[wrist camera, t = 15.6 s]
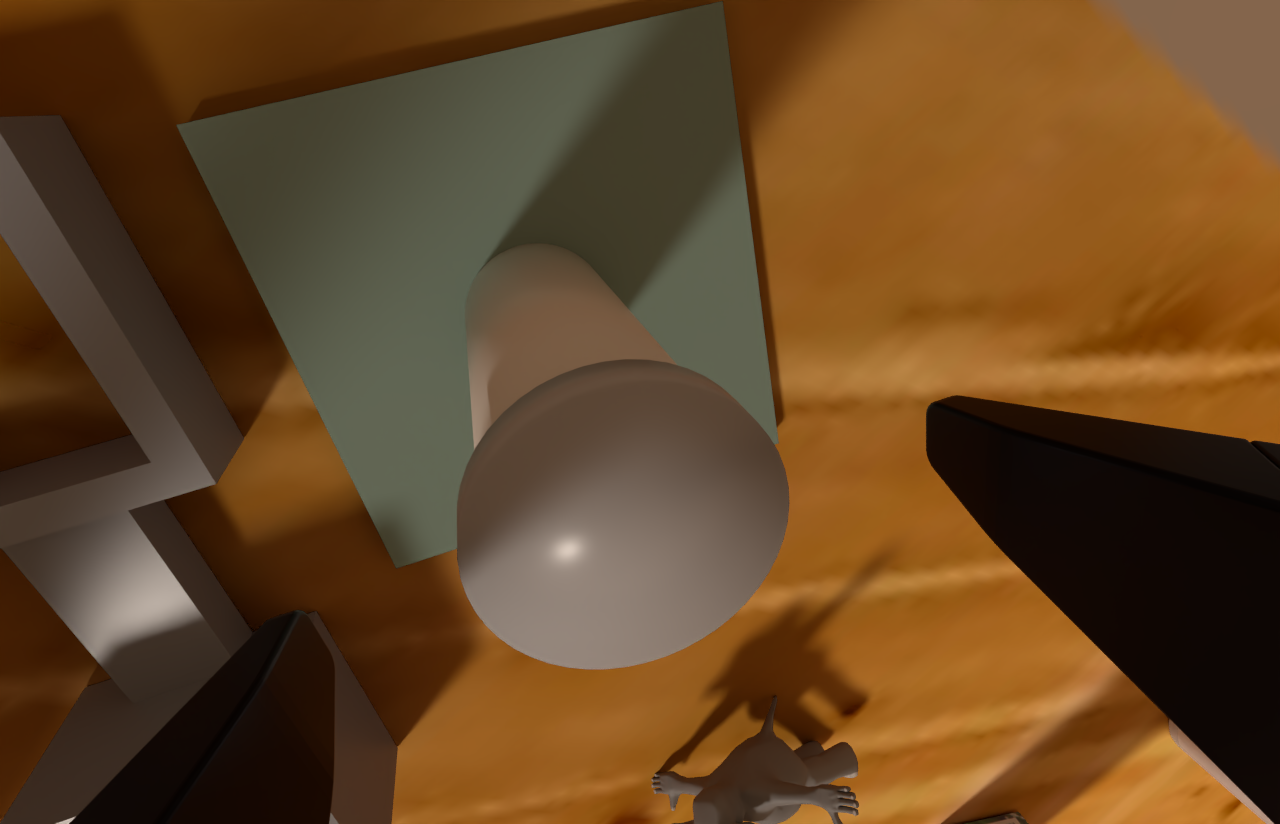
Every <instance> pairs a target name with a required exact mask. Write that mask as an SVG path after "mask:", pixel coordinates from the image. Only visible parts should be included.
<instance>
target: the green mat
mask: <svg viewBox="0 0 1280 824" xmlns="http://www.w3.org/2000/svg"><path fill="white" fill-rule="evenodd" d="M176 126H177V128H178V130H179V132H180V134H181V136H182V138H183V140H184V142H185V144H186V146H187V148H188V150H189V152H190V154H191V156H192V158H193V160H194V162H195V164H196V166H197V168H198V170H199V172H200V174H201V176H202V178H203V180H204V182H205V184H206V186H207V188H208V190H209V192H210V194H211V196H212V198H213V200H214V202H215V204H216V206H217V208H218V210H219V212H220V214H221V217H222V219H223V221H224V223H225V225H226V227H227V229H228V231H229V233H230V235H231V237H232V239H233V241H234V243H235V245H236V247H237V249H238V251H239V253H240V255H241V257H242V259H243V261H244V263H245V265H246V267H247V269H248V271H249V273H250V275H251V277H252V279H253V281H254V283H255V285H256V287H257V289H258V291H259V293H260V295H261V297H262V299H263V301H264V303H265V305H266V307H267V309H268V311H269V313H270V315H271V317H272V319H273V321H274V323H275V325H276V327H277V329H278V331H279V333H280V335H281V337H282V339H283V341H284V343H285V345H286V347H287V349H288V351H289V354H290V356H291V358H292V360H293V362H294V364H295V366H296V368H297V370H298V372H299V374H300V376H301V378H302V380H303V382H304V384H305V386H306V388H307V390H308V392H309V394H310V396H311V398H312V400H313V402H314V404H315V406H316V408H317V410H318V412H319V414H320V416H321V418H322V420H323V422H324V424H325V426H326V428H327V430H328V432H329V434H330V436H331V438H332V440H333V442H334V444H335V446H336V448H337V450H338V452H339V454H340V456H341V458H342V460H343V462H344V464H345V466H346V468H347V470H348V472H349V474H350V476H351V478H352V480H353V482H354V484H355V486H356V488H357V491H358V493H359V495H360V497H361V499H362V501H363V503H364V505H365V507H366V509H367V511H368V513H369V515H370V517H371V519H372V521H373V523H374V525H375V527H376V529H377V531H378V533H379V535H380V537H381V539H382V541H383V543H384V545H385V547H386V549H387V551H388V553H389V555H390V557H391V559H392V561H393V563H394V565H395V567H396V568H399V567H403V566H406V565H409V564H412V563H415V562H418V561H421V560H424V559H427V558H430V557H433V556H436V555H439V554H442V553H445V552H448V551H451V550H454V549H457V501H458V495H459V489H460V484H461V481H462V478H463V475H464V472H465V469H466V466H467V464H468V462H469V460H470V458H471V456H472V454H473V452H474V440H473V426H472V411H471V397H470V383H469V369H468V354H467V340H466V326H465V305H466V299H467V295H468V292H469V289H470V287H471V285H472V282H473V280H474V279H475V277H476V276H477V274H478V273H479V271H480V270H481V269H482V268H483V267H484V265H486V264H487V263H488V262H489V261H490V260H491V259H492V258H494V257H495V256H497V255H498V254H500V253H502V252H504V251H506V250H508V249H510V248H513V247H516V246H519V245H524V244H532V243H543V244H551V245H556V246H559V247H562V248H565V249H567V250H569V251H571V252H573V253H575V254H577V255H578V256H580V257H581V258H583V259H584V260H585V261H586V262H587V263H588V264H589V265H590V266H591V267H592V268H593V269H594V270H595V272H596V273H597V274H598V275H599V276H600V277H601V278H602V280H603V281H604V282H605V283H606V284H607V285H608V286H609V288H610V289H611V290H612V291H613V292H614V293H615V294H616V296H617V297H618V298H619V299H620V300H621V301H622V302H623V304H624V305H625V306H626V307H627V308H628V309H629V310H630V312H631V313H632V314H633V315H634V316H635V317H636V318H637V320H638V321H639V322H640V323H641V324H642V325H643V326H644V328H645V329H646V330H647V331H648V332H649V333H650V334H651V336H652V337H653V338H654V339H655V340H656V341H657V342H658V344H659V345H660V346H661V347H662V348H663V349H664V350H665V352H666V353H667V354H668V355H669V356H670V357H671V358H672V360H673V361H674V362H675V363H676V364H677V365H678V366H681V367H685V368H688V369H690V370H692V371H695V372H697V373H699V374H701V375H703V376H705V377H707V378H709V379H710V380H712V381H713V382H715V383H716V384H718V385H719V386H721V387H722V388H723V389H724V390H726V391H727V392H728V393H729V394H730V395H731V396H732V397H733V398H735V399H736V400H737V401H738V402H739V404H740V405H741V406H742V407H743V408H744V409H745V410H746V411H747V412H748V413H749V414H750V415H751V416H752V417H753V418H754V419H755V420H756V421H757V422H758V423H759V424H760V426H761V427H762V428H763V429H764V431H765V432H766V433H767V434H768V435H769V437H770V438H771V440H772V442H773V444H777V443H779V442H778V434H777V426H776V418H775V410H774V403H773V395H772V387H771V379H770V371H769V363H768V355H767V347H766V339H765V331H764V324H763V316H762V308H761V300H760V292H759V284H758V276H757V268H756V260H755V252H754V245H753V237H752V229H751V221H750V213H749V205H748V197H747V189H746V181H745V173H744V166H743V158H742V150H741V142H740V134H739V126H738V118H737V110H736V102H735V94H734V87H733V79H732V71H731V63H730V55H729V47H728V39H727V31H726V23H725V15H724V8H723V1H720V2H716V3H712V4H707V5H703V6H698V7H694V8H690V9H685V10H681V11H676V12H672V13H668V14H663V15H659V16H654V17H650V18H646V19H641V20H637V21H632V22H628V23H624V24H619V25H615V26H610V27H606V28H602V29H597V30H593V31H588V32H584V33H580V34H575V35H571V36H566V37H562V38H558V39H553V40H549V41H544V42H540V43H536V44H531V45H527V46H522V47H518V48H514V49H509V50H505V51H500V52H496V53H491V54H487V55H483V56H478V57H474V58H469V59H465V60H461V61H456V62H452V63H447V64H443V65H439V66H434V67H430V68H425V69H421V70H417V71H412V72H408V73H403V74H399V75H395V76H390V77H386V78H381V79H377V80H373V81H368V82H364V83H359V84H355V85H351V86H346V87H342V88H337V89H333V90H329V91H324V92H320V93H315V94H311V95H307V96H302V97H298V98H293V99H289V100H285V101H280V102H276V103H271V104H267V105H263V106H258V107H254V108H249V109H245V110H241V111H236V112H232V113H227V114H223V115H219V116H214V117H210V118H205V119H201V120H196V121H192V122H188V123H183V124H179V125H176Z"/></svg>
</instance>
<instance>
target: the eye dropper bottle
mask: <svg viewBox="0 0 1280 824" xmlns="http://www.w3.org/2000/svg"><path fill="white" fill-rule="evenodd" d="M1169 731H1170V735H1171V737H1172V739H1173V740H1174V742H1175V743H1176V744H1177V745H1178V746H1179V747H1180V748H1181V749H1182V750H1183V751H1184V752H1185V753H1186V754H1188V755H1189V756H1190V757H1191V758H1192V759H1193V760H1194V761H1196V762H1197V763H1198V764H1199V765H1200V766H1201V767H1202V768H1203V769H1205V770H1206V771H1207V772H1208V773H1209V774H1210V775H1211V776H1213V777H1214V778H1215V779H1216V780H1217V781H1218V782H1219V783H1220V784H1222V785H1223V786H1224V787H1225V788H1226V789H1227V790H1228V791H1230V792H1231V793H1232V794H1233V795H1234V796H1235V797H1236V798H1238V799H1239V800H1240V801H1241V802H1242V803H1243V804H1244V805H1245V806H1247V807H1248V808H1249V809H1250V810H1251V811H1252V812H1253V813H1255V814H1256V815H1257V816H1258V817H1259V818H1260V819H1261V820H1263V821H1264V822H1265V823H1266V824H1274V823H1273V822H1272V821H1271V820H1270V819H1269V818H1268V817H1267V816H1266V815H1265V814H1264V813H1263V812H1262V811H1261V810H1260V809H1259V808H1258V807H1257V806H1256V805H1255V804H1254V803H1253V802H1252V801H1251V800H1250V799H1249V798H1248V797H1247V796H1246V795H1245V794H1244V793H1243V792H1242V791H1241V790H1240V789H1239V788H1238V787H1237V786H1236V785H1235V784H1234V783H1233V782H1232V781H1231V780H1230V779H1229V778H1228V777H1227V776H1226V775H1225V774H1224V773H1223V772H1222V771H1221V770H1220V769H1219V768H1218V767H1217V766H1216V765H1215V764H1214V763H1213V762H1212V761H1211V760H1210V759H1209V758H1208V757H1207V756H1206V755H1205V754H1204V753H1203V752H1202V751H1201V750H1200V749H1199V748H1198V747H1197V746H1196V745H1195V744H1194V743H1193V742H1192V741H1191V740H1190V739H1189V738H1188V737H1187V736H1186V735H1185V734H1184V733H1183V732H1182V731H1181V730H1180V729H1179V728H1178V727H1177V726H1176V725H1175V724H1174V723H1173V722H1172V721H1171V720H1170V719H1169Z"/></svg>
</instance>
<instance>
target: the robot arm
mask: <svg viewBox="0 0 1280 824" xmlns="http://www.w3.org/2000/svg"><path fill="white" fill-rule="evenodd" d="M926 452H927V457H928V459H929V462H930V464H931V466H932V467H933V468H934V470H935V471H936V472H937V473H938V475H939V476H940V477H941V478H942V480H943V481H944V482H945V483H946V485H947V486H948V487H949V488H950V490H951V491H952V492H953V493H954V494H955V496H956V497H957V498H958V499H959V501H960V502H961V503H962V504H963V506H964V507H965V508H966V509H967V511H968V512H969V513H970V514H971V515H972V517H973V518H974V519H975V520H976V522H977V523H978V524H979V525H980V527H981V528H982V529H983V530H984V531H985V533H986V534H987V535H988V536H989V537H990V538H991V539H992V541H993V542H994V543H995V544H996V545H997V546H998V547H999V548H1000V549H1001V550H1002V551H1003V552H1004V554H1005V555H1006V556H1007V557H1008V558H1009V559H1010V560H1011V561H1012V562H1013V563H1014V564H1015V565H1016V566H1017V567H1018V568H1019V569H1020V570H1021V571H1022V572H1023V573H1024V574H1025V575H1026V576H1027V577H1028V578H1029V579H1030V580H1031V581H1032V582H1033V583H1034V584H1035V585H1036V586H1037V587H1038V588H1039V589H1040V590H1041V591H1042V592H1043V593H1044V594H1045V595H1046V596H1047V597H1048V598H1049V599H1050V600H1051V601H1052V602H1053V603H1054V604H1055V605H1056V606H1057V607H1058V608H1059V609H1060V610H1061V611H1062V612H1063V613H1064V614H1065V615H1066V616H1067V617H1068V618H1069V619H1070V620H1071V621H1072V622H1073V623H1074V624H1075V625H1076V626H1077V627H1078V628H1079V629H1080V630H1081V631H1082V632H1083V633H1084V634H1085V635H1086V636H1087V637H1088V638H1089V639H1090V640H1091V641H1092V642H1093V643H1094V644H1095V645H1096V646H1097V647H1098V648H1099V649H1100V650H1101V651H1102V652H1103V653H1104V654H1105V655H1106V656H1107V657H1108V658H1109V659H1110V660H1111V661H1112V662H1113V663H1114V664H1115V665H1116V666H1117V667H1118V668H1119V669H1120V670H1121V671H1122V672H1123V673H1124V674H1125V675H1126V676H1127V677H1128V678H1129V679H1130V680H1131V681H1132V682H1133V683H1134V684H1135V685H1136V686H1137V687H1138V688H1139V689H1140V690H1141V691H1142V692H1143V693H1144V694H1145V695H1146V696H1147V697H1148V698H1149V699H1150V700H1151V701H1152V702H1153V703H1154V704H1155V705H1156V706H1157V707H1158V708H1159V709H1160V710H1161V711H1162V712H1163V713H1164V714H1165V715H1166V716H1167V717H1168V718H1169V719H1170V720H1171V721H1172V722H1173V723H1174V724H1175V725H1176V726H1177V727H1178V728H1179V729H1180V730H1181V731H1182V732H1183V733H1184V734H1185V735H1186V736H1187V737H1188V738H1189V739H1190V740H1191V741H1192V742H1193V743H1194V744H1195V745H1196V746H1197V747H1198V748H1199V749H1200V750H1201V751H1202V752H1203V753H1204V754H1205V755H1206V756H1207V757H1208V758H1209V759H1210V760H1211V761H1212V762H1213V763H1214V764H1215V765H1216V766H1217V767H1218V768H1219V769H1220V770H1221V771H1222V772H1223V773H1224V774H1225V775H1226V776H1227V777H1228V778H1229V779H1230V780H1231V781H1232V782H1233V783H1234V784H1235V785H1236V786H1237V787H1238V788H1239V789H1240V790H1241V791H1242V792H1243V793H1244V794H1245V795H1246V796H1247V797H1248V798H1249V799H1250V800H1251V801H1252V802H1253V803H1254V804H1255V805H1256V806H1257V807H1258V808H1259V809H1260V810H1261V811H1262V812H1263V813H1264V814H1265V815H1266V816H1267V817H1268V818H1269V819H1270V820H1271V821H1272V822H1273V823H1274V824H1280V444H1275V443H1268V442H1262V441H1252V442H1249V441H1248V440H1246V439H1241V438H1234V437H1228V436H1221V435H1215V434H1208V433H1202V432H1195V431H1189V430H1182V429H1175V428H1169V427H1162V426H1156V425H1149V424H1143V423H1136V422H1130V421H1123V420H1117V419H1110V418H1103V417H1097V416H1090V415H1084V414H1077V413H1071V412H1064V411H1058V410H1051V409H1044V408H1038V407H1031V406H1025V405H1018V404H1012V403H1005V402H999V401H992V400H985V399H979V398H972V397H966V396H959V395H956V396H950V397H947V398H944V399H941V400H938V401H935V402H933V403H931V404H930V405H929V406H928V409H927V412H926ZM334 764H335V665H334V660H333V657H332V654H331V652H330V650H329V649H328V647H327V645H326V644H325V642H324V640H323V639H322V637H321V635H320V634H319V632H318V630H317V629H316V627H315V625H314V624H313V622H312V620H311V619H310V617H309V616H308V615H307V614H306V613H305V612H304V611H301V610H295V611H292V612H289V613H286V614H283V615H279V616H276V617H273V618H270V619H269V620H267V621H266V622H265V623H264V624H263V625H262V626H261V627H260V628H259V629H258V630H257V631H256V632H255V633H254V634H253V635H252V636H251V637H250V638H249V639H248V640H247V641H246V642H245V643H244V644H243V645H242V646H241V647H240V648H239V649H238V650H237V651H236V652H235V653H234V654H233V655H232V656H231V658H230V659H229V660H228V661H227V662H226V663H225V664H224V665H223V666H222V667H221V668H220V669H219V670H218V671H217V672H216V673H215V674H214V675H213V676H212V677H211V678H210V679H209V680H208V681H207V682H206V683H205V684H204V685H203V686H202V687H201V688H200V689H199V690H198V691H197V692H196V694H195V695H194V696H193V697H192V698H191V699H190V700H189V701H188V702H187V703H186V704H185V705H184V706H183V707H182V708H181V709H180V710H179V711H178V712H177V713H176V714H175V715H174V716H173V717H172V718H171V719H170V720H169V721H168V722H167V723H166V724H165V725H164V726H163V727H162V728H161V729H160V731H159V732H158V733H157V734H156V735H155V736H154V737H153V738H152V739H151V740H150V741H149V742H148V743H147V744H146V745H145V746H144V747H143V748H142V749H141V750H140V751H139V752H138V753H137V754H136V755H135V756H134V757H133V758H132V759H131V760H130V761H129V762H128V763H127V764H126V765H125V767H124V768H123V769H122V770H121V771H120V772H119V773H118V774H117V775H116V776H115V777H114V778H113V779H112V780H111V781H110V782H109V783H108V784H107V785H106V786H105V787H104V788H103V789H102V790H101V791H100V792H99V793H98V794H97V795H96V796H95V797H94V798H93V799H92V800H91V801H90V802H89V804H88V805H87V806H86V807H85V808H84V809H83V810H82V811H81V812H80V813H79V814H78V815H77V816H76V817H75V818H74V819H73V820H72V821H71V822H70V823H69V824H329V821H330V813H331V805H332V796H333V785H334Z"/></svg>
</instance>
